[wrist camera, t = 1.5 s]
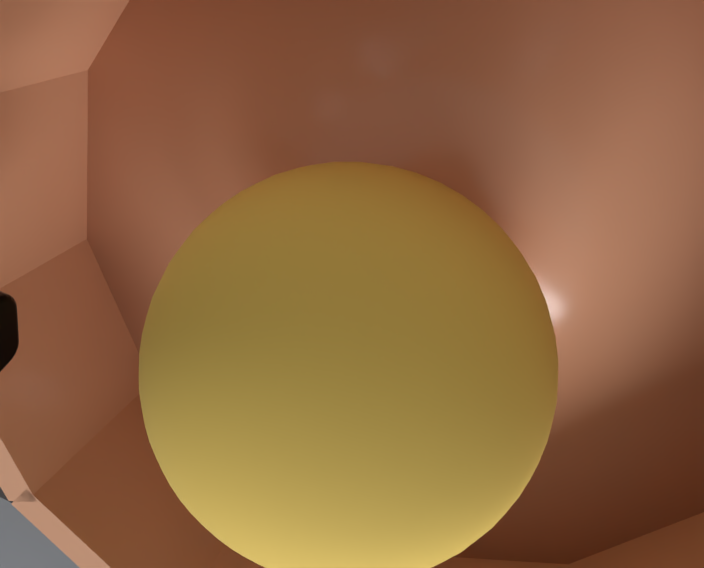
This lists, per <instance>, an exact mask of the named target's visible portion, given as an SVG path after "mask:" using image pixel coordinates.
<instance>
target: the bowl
mask: <svg viewBox="0 0 704 568" xmlns="http://www.w3.org/2000/svg"><path fill="white" fill-rule="evenodd" d="M330 162H365V163H373V164H380V165H387V166H394V167H397V168H401V169H405V170H408V171H412V172H416V173H418V174H421V175H423V176H426V177H428V178H431V179H433V180H435V181H438V182H440V183H442V184H444V185H446V186H447V187H449V188H451V189H453V190H454V191H456V192H458V193H460V194H461V195H463V196H464V197H466V198H467V199H468V200H470V201H471V202H473V203H474V204H475V205H477V206H478V207H479V208H481V209H482V210H483V211H484V212H485V213H486V214H487V215H489V216H490V217H491V218H492V219H493V220H494V221H495V222H496V223H497V224H498V225H499V226H500V227H501V228H502V229H503V230H504V232H505V233H506V234H507V235H508V237H509V238H510V239H511V240H512V241H513V243H514V244H515V245H516V246H517V248H518V249H519V251H520V252H521V253H522V255H523V257H524V258H525V260H526V262H527V263H528V265H529V267H530V268H531V270H532V271H533V273H534V275H535V276H536V279H537V281H538V283H539V285H540V288H541V290H542V292H543V295H544V297H545V299H546V302H547V306H548V310H549V313H550V317H551V321H552V324H553V328H554V333H555V337H556V345H557V354H558V389H557V404H556V408H555V413H554V417H553V422H552V426H551V430H550V434H549V438H548V442H547V444H546V446H545V449H544V451H543V454H542V456H541V459H540V461H539V463H538V465H537V467H536V469H535V471H534V473H533V475H532V477H531V479H530V481H529V482H528V484H527V485H526V487H525V488H524V490H523V492H522V493H521V495H520V496H519V498H518V499H517V500H516V501H515V503H514V504H513V505H512V506H511V508H510V509H509V510H508V511H507V512H506V514H505V515H504V516H503V517H502V518H501V519H500V520H499V521H498V522H497V523H496V524H495V526H494V527H493V528H492V529H490V530H489V531H488V532H487V533H485V534H484V535H483V536H482V537H480V538H479V539H478V540H476V541H475V542H474V543H473V544H471V545H470V546H469V547H467V548H466V549H465V550H464V551H462V552H461V553H459V554H457V555H455V556H453V557H452V558H450V559H448V560H446V561H444V562H442V563H440V564H438V565H436V566H434V567H432V568H704V0H0V291H2V292H4V293H6V294H9V295H11V296H12V297H13V298H14V300H15V301H16V304H17V314H18V331H19V345H18V349H17V352H16V354H15V355H14V357H13V358H12V360H11V361H10V362H9V363H8V364H7V365H6V366H5V368H4V369H3V370H2V371H1V372H0V487H1V489H2V491H3V492H4V494H5V496H6V497H7V499H8V501H13V502H12V503H11V504H12V505H13V506H14V507H15V508H16V509H17V510H18V511H19V512H20V513H21V514H23V515H24V516H25V517H26V518H27V519H28V520H29V521H30V522H31V523H32V524H33V525H34V526H35V527H37V528H38V529H39V530H40V531H41V532H42V533H43V534H44V535H45V536H46V537H47V538H48V539H49V540H51V541H52V542H53V543H54V544H55V545H56V546H57V547H58V548H59V549H60V550H61V551H62V552H63V553H64V554H66V555H67V556H68V557H69V558H70V559H71V560H72V561H73V562H74V563H75V564H76V565H77V566H78V567H80V568H265V567H263V566H261V565H259V564H257V563H255V562H253V561H251V560H249V559H247V558H245V557H243V556H242V555H240V554H239V553H237V552H235V551H234V550H232V549H231V548H229V547H228V546H227V545H225V544H224V543H223V542H221V541H220V540H219V539H217V538H216V537H215V536H214V535H213V534H212V533H210V532H209V531H208V530H207V529H206V528H205V527H204V526H203V525H201V524H200V522H199V521H198V520H197V519H196V518H195V517H194V516H193V515H192V514H191V513H190V512H189V511H188V509H187V508H186V507H185V506H184V505H183V503H182V502H181V501H180V500H179V498H178V497H177V495H176V494H175V492H174V491H173V489H172V488H171V486H170V485H169V483H168V481H167V479H166V477H165V475H164V474H163V472H162V470H161V467H160V465H159V463H158V461H157V459H156V457H155V454H154V452H153V449H152V447H151V444H150V442H149V439H148V435H147V432H146V428H145V424H144V419H143V413H142V408H141V401H140V395H139V352H140V345H141V337H142V332H143V328H144V324H145V320H146V316H147V313H148V309H149V306H150V303H151V300H152V297H153V295H154V293H155V290H156V288H157V286H158V284H159V282H160V280H161V278H162V276H163V274H164V272H165V270H166V268H167V266H168V264H169V262H170V261H171V259H172V258H173V257H174V255H175V254H176V253H177V251H178V250H179V249H180V247H181V246H182V244H183V243H184V242H185V241H186V239H187V238H188V237H189V235H190V234H191V233H192V231H193V230H194V229H195V228H196V227H197V226H198V225H199V224H200V223H202V222H203V221H204V220H205V219H206V218H207V217H208V216H209V215H210V214H211V213H212V212H213V211H215V210H216V209H217V208H218V207H219V206H221V205H222V204H223V203H225V202H226V201H227V200H229V199H230V198H232V197H233V196H235V195H236V194H238V193H239V192H241V191H243V190H245V189H246V188H248V187H250V186H252V185H254V184H256V183H258V182H261V181H263V180H265V179H267V178H269V177H271V176H273V175H276V174H279V173H282V172H286V171H289V170H293V169H296V168H300V167H305V166H309V165H315V164H322V163H330Z"/></svg>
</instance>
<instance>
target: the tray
mask: <svg viewBox="0 0 704 568" xmlns="http://www.w3.org/2000/svg"><path fill="white" fill-rule="evenodd" d="M12 502H13V501H8V499H7V497H6V496H5V494H4V492H3V491H2V489H1V487H0V568H80V567H78V566H77V565H76V564H75V563H74V562H73V561H72V560H71V559H70V558H69V557H68V556H67V555H66V554H64V553H63V552H62V551H61V550H60V549H59V548H58V547H57V546H56V545H55V544H54V543H53V542H52V541H51V540H49V539H48V538H47V537H46V536H45V535H44V534H43V533H42V532H41V531H40V530H39V529H38V528H37V527H35V526H34V525H33V524H32V523H31V522H30V521H29V520H28V519H27V518H26V517H25V516H24V515H23V514H21V513H20V512H19V511H18V510H17V509H16V508H15V507H14V506H13V505H12V504H11V503H12Z"/></svg>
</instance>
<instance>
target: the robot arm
mask: <svg viewBox="0 0 704 568" xmlns="http://www.w3.org/2000/svg"><path fill="white" fill-rule="evenodd" d="M18 345H19V331H18V314H17V304H16V301H15V300H14V298H13V297H12V296H11V295H9V294H6V293H4V292H2V291H0V372H1V371H2V370H3V369H4V368H5V366H6V365H7V364H8V363H9V362H10V361H11V360H12V358H13V357H14V355H15V354H16V352H17V349H18Z"/></svg>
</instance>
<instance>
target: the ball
mask: <svg viewBox="0 0 704 568" xmlns="http://www.w3.org/2000/svg"><path fill="white" fill-rule="evenodd" d="M557 389H558V354H557V345H556V337H555V333H554V328H553V324H552V321H551V317H550V313H549V310H548V306H547V302H546V299H545V297H544V295H543V292H542V290H541V288H540V285H539V283H538V281H537V279H536V276H535V275H534V273H533V271H532V270H531V268H530V267H529V265H528V263H527V262H526V260H525V258H524V257H523V255H522V253H521V252H520V251H519V249H518V248H517V246H516V245H515V244H514V243H513V241H512V240H511V239H510V238H509V237H508V235H507V234H506V233H505V232H504V230H503V229H502V228H501V227H500V226H499V225H498V224H497V223H496V222H495V221H494V220H493V219H492V218H491V217H490V216H489V215H487V214H486V213H485V212H484V211H483V210H482V209H481V208H479V207H478V206H477V205H475V204H474V203H473V202H471V201H470V200H468V199H467V198H466V197H464V196H463V195H461V194H460V193H458V192H456V191H454V190H453V189H451V188H449V187H447V186H446V185H444V184H442V183H440V182H438V181H435V180H433V179H431V178H428V177H426V176H423V175H421V174H418V173H416V172H412V171H408V170H405V169H401V168H397V167H394V166H387V165H380V164H373V163H365V162H330V163H322V164H315V165H309V166H305V167H300V168H296V169H293V170H289V171H286V172H282V173H279V174H276V175H273V176H271V177H269V178H267V179H265V180H263V181H261V182H258V183H256V184H254V185H252V186H250V187H248V188H246V189H245V190H243V191H241V192H239V193H238V194H236V195H235V196H233V197H232V198H230V199H229V200H227V201H226V202H225V203H223V204H222V205H221V206H219V207H218V208H217V209H216V210H215V211H213V212H212V213H211V214H210V215H209V216H208V217H207V218H206V219H205V220H204V221H203V222H202V223H200V224H199V225H198V226H197V227H196V228H195V229H194V230H193V231H192V233H191V234H190V235H189V237H188V238H187V239H186V241H185V242H184V243H183V244H182V246H181V247H180V249H179V250H178V251H177V253H176V254H175V255H174V257H173V258H172V259H171V261H170V262H169V264H168V266H167V268H166V270H165V272H164V274H163V276H162V278H161V280H160V282H159V284H158V286H157V288H156V290H155V293H154V295H153V297H152V300H151V303H150V306H149V309H148V313H147V316H146V320H145V324H144V328H143V332H142V337H141V345H140V352H139V395H140V401H141V408H142V413H143V419H144V424H145V428H146V432H147V435H148V439H149V442H150V444H151V447H152V449H153V452H154V454H155V457H156V459H157V461H158V463H159V465H160V467H161V470H162V472H163V474H164V475H165V477H166V479H167V481H168V483H169V485H170V486H171V488H172V489H173V491H174V492H175V494H176V495H177V497H178V498H179V500H180V501H181V502H182V503H183V505H184V506H185V507H186V508H187V509H188V511H189V512H190V513H191V514H192V515H193V516H194V517H195V518H196V519H197V520H198V521H199V522H200V524H201V525H203V526H204V527H205V528H206V529H207V530H208V531H209V532H210V533H212V534H213V535H214V536H215V537H216V538H217V539H219V540H220V541H221V542H223V543H224V544H225V545H227V546H228V547H229V548H231V549H232V550H234V551H235V552H237V553H239V554H240V555H242V556H243V557H245V558H247V559H249V560H251V561H253V562H255V563H257V564H259V565H261V566H263V567H265V568H432V567H434V566H436V565H438V564H440V563H442V562H444V561H446V560H448V559H450V558H452V557H453V556H455V555H457V554H459V553H461V552H462V551H464V550H465V549H466V548H467V547H469V546H470V545H471V544H473V543H474V542H475V541H476V540H478V539H479V538H480V537H482V536H483V535H484V534H485V533H487V532H488V531H489V530H490V529H492V528H493V527H494V526H495V524H496V523H497V522H498V521H499V520H500V519H501V518H502V517H503V516H504V515H505V514H506V512H507V511H508V510H509V509H510V508H511V506H512V505H513V504H514V503H515V501H516V500H517V499H518V498H519V496H520V495H521V493H522V492H523V490H524V488H525V487H526V485H527V484H528V482H529V481H530V479H531V477H532V475H533V473H534V471H535V469H536V467H537V465H538V463H539V461H540V459H541V456H542V454H543V451H544V449H545V446H546V444H547V442H548V438H549V434H550V430H551V426H552V422H553V417H554V413H555V408H556V404H557Z"/></svg>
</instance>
